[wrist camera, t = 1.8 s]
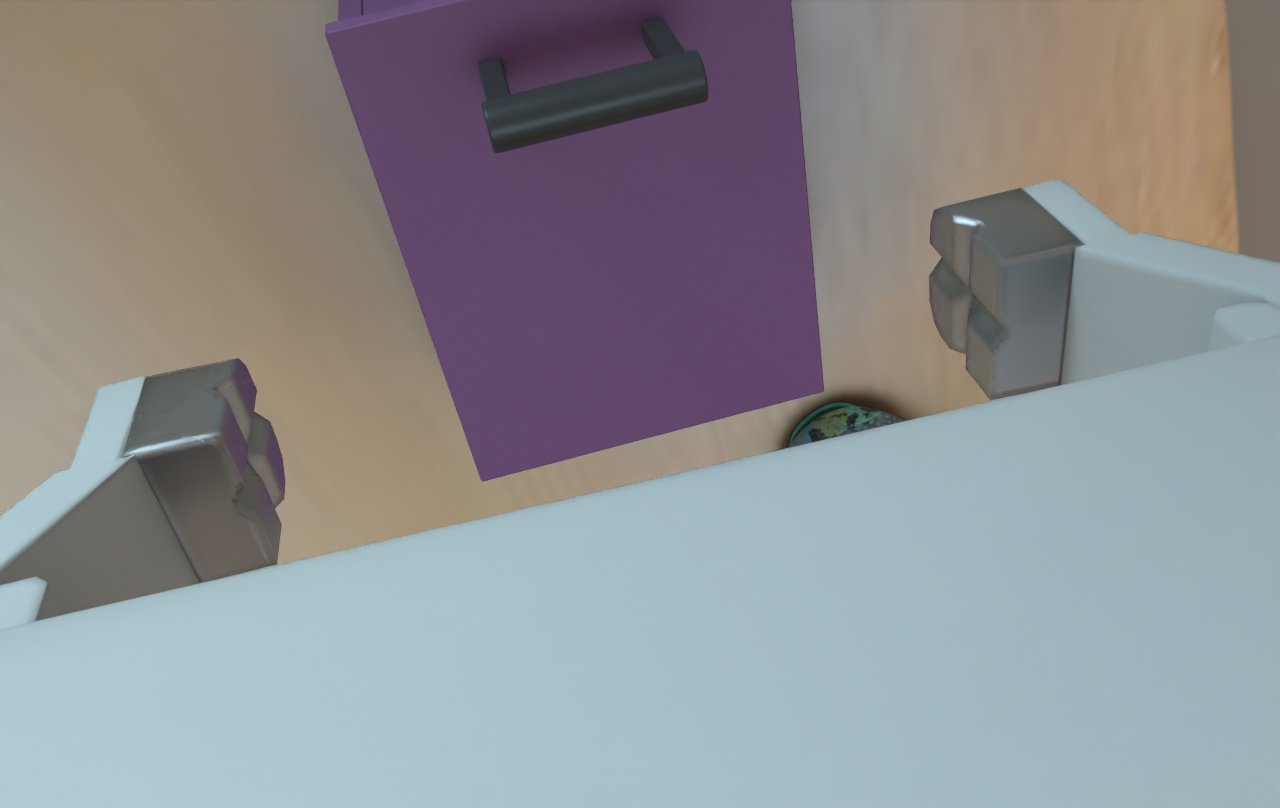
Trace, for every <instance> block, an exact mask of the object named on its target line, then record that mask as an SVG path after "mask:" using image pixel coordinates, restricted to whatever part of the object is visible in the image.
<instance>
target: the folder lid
mask: <svg viewBox="0 0 1280 808" xmlns="http://www.w3.org/2000/svg"><path fill="white" fill-rule="evenodd" d="M325 35H326V38H327V41H328V44H329V46H330V49H331V52H332V55H333V58H334V61H335V64H336V66H337V69H338V72H339V75H340V78H341V81H342V84H343V87H344V89H345V92H346V95H347V98H348V101H349V104H350V107H351V109H352V112H353V115H354V118H355V121H356V124H357V127H358V129H359V132H360V135H361V138H362V141H363V144H364V147H365V149H366V152H367V155H368V158H369V161H370V164H371V167H372V170H373V172H374V175H375V178H376V181H377V184H378V187H379V190H380V192H381V195H382V198H383V201H384V204H385V207H386V210H387V212H388V215H389V218H390V221H391V224H392V227H393V230H394V232H395V235H396V238H397V241H398V244H399V247H400V250H401V253H402V255H403V258H404V261H405V264H406V267H407V270H408V273H409V275H410V278H411V281H412V284H413V287H414V290H415V293H416V295H417V298H418V301H419V304H420V307H421V310H422V313H423V315H424V318H425V321H426V324H427V327H428V330H429V333H430V336H431V338H432V341H433V344H434V347H435V350H436V353H437V356H438V358H439V361H440V364H441V367H442V370H443V373H444V376H445V378H446V381H447V384H448V387H449V390H450V393H451V396H452V398H453V401H454V404H455V407H456V410H457V413H458V416H459V419H460V421H461V424H462V427H463V430H464V433H465V436H466V439H467V441H468V444H469V447H470V450H471V453H472V456H473V459H474V461H475V464H476V467H477V470H478V473H479V476H480V479H481V481H487V480H490V479H494V478H498V477H502V476H506V475H509V474H513V473H517V472H521V471H524V470H528V469H532V468H536V467H540V466H543V465H547V464H551V463H555V462H559V461H562V460H566V459H570V458H574V457H577V456H581V455H585V454H589V453H593V452H596V451H600V450H604V449H608V448H612V447H615V446H619V445H623V444H627V443H630V442H634V441H638V440H642V439H646V438H649V437H653V436H657V435H661V434H665V433H668V432H672V431H676V430H680V429H683V428H687V427H691V426H695V425H699V424H702V423H706V422H710V421H714V420H718V419H721V418H725V417H729V416H733V415H736V414H740V413H744V412H748V411H752V410H755V409H759V408H763V407H767V406H771V405H774V404H778V403H782V402H786V401H790V400H793V399H797V398H801V397H805V396H808V395H812V394H816V393H820V392H823V391H824V384H823V372H822V361H821V349H820V337H819V325H818V313H817V301H816V290H815V278H814V266H813V254H812V242H811V231H810V219H809V207H808V195H807V183H806V171H805V160H804V148H803V136H802V124H801V112H800V101H799V89H798V77H797V65H796V53H795V41H794V30H793V18H792V6H791V0H424V1H420V2H416V3H412V4H408V5H404V6H399V7H395V8H391V9H387V10H383V11H379V12H374V13H370V14H366V15H362V16H358V17H354V18H349V19H345V20H341V21H337V22H333V23H329V24H326V31H325Z"/></svg>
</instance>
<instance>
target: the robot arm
mask: <svg viewBox="0 0 1280 808" xmlns="http://www.w3.org/2000/svg"><path fill="white" fill-rule="evenodd" d="M930 244H931V245H932V246H933V247H934V248H935V250H936V251H937V252H938V253H939V254H940V255H941V257H942V258H941V259H940V261H939V262H938V264H937V265H936V267H935V268H934V270H933V271H932V273H931V274H930V276H929V292H930V305H931V309H932V314H933V318H934V323H935V325H936V327H937V329H938V331H939V334H940V336H941V337H942V339H943V340H944V341H945V343H946V344H947V345H948V347H949V348H950V349H953V350H955V351H958V352H961V353H964V354H966V370H967V371H968V373H969V374H970V375H971V376H972V378H973V379H974V380H975V381H976V383H977V384H978V385H979V386H980V388H981V389H982V390H983V391H984V393H985V394H986V395H987V396H988V398H989V399H990V400H993V399H998V398H1003V397H1007V398H1003V399H999V400H994V401H990V402H986V403H981V404H977V405H973V406H968V407H964V408H960V409H955V410H951V411H947V412H942V413H938V414H934V415H929V416H925V417H921V418H916V419H912V420H908V421H903V422H899V423H895V424H890V425H886V426H882V427H877V428H873V429H869V430H864V431H860V432H856V433H851V434H847V435H843V436H838V437H834V438H830V439H825V440H821V441H817V442H812V443H808V444H804V445H799V446H795V447H791V448H786V449H782V450H777V451H773V452H769V453H764V454H760V455H756V456H751V457H747V458H743V459H738V460H734V461H730V462H725V463H721V464H717V465H712V466H708V467H703V468H699V469H695V470H690V471H686V472H682V473H677V474H673V475H669V476H664V477H660V478H656V479H651V480H647V481H642V482H638V483H634V484H629V485H625V486H621V487H616V488H612V489H608V490H603V491H599V492H595V493H590V494H586V495H582V496H577V497H573V498H568V499H564V500H560V501H555V502H551V503H547V504H542V505H538V506H534V507H529V508H525V509H521V510H516V511H512V512H507V513H503V514H499V515H494V516H490V517H486V518H481V519H477V520H473V521H468V522H464V523H460V524H455V525H451V526H446V527H442V528H438V529H433V530H429V531H425V532H420V533H416V534H412V535H407V536H403V537H399V538H394V539H390V540H386V541H381V542H377V543H372V544H368V545H364V546H359V547H355V548H351V549H346V550H342V551H338V552H333V553H329V554H325V555H320V556H316V557H311V558H307V559H303V560H298V561H294V562H290V563H285V564H281V565H277V566H272V567H268V568H264V569H260V568H263V567H267V566H271V565H275V564H277V561H278V552H279V543H280V533H281V522H280V520H279V517H278V515H277V513H276V510H275V508H276V507H277V506H278V505H279V504H280V503H281V502H282V500H283V499H284V494H285V475H284V467H283V459H282V455H281V452H280V448H279V445H278V441H277V438H276V436H275V433H274V431H273V428H272V426H271V423H270V421H268V420H267V419H265V418H264V417H262V416H260V415H259V414H257V413H256V412H254V407H255V399H256V392H257V389H256V387H255V385H254V383H253V380H252V378H251V376H250V374H249V371H248V369H247V367H246V365H245V364H244V363H243V362H242V361H241V360H240V359H239V358H237V359H232V360H227V361H222V362H217V363H212V364H207V365H202V366H197V367H192V368H187V369H181V370H176V371H171V372H166V373H161V374H156V375H152V376H150V377H149V376H142V377H138V378H134V379H130V380H126V381H122V382H117V383H113V384H109V385H106V386H104V387H101V388H100V389H99V390H98V393H97V395H96V398H95V401H94V404H93V406H92V409H91V412H90V415H89V417H88V420H87V423H86V426H85V428H84V431H83V434H82V437H81V439H80V442H79V445H78V448H77V451H76V453H75V456H74V459H73V462H72V464H71V467H70V469H68V470H64V471H59V472H56V473H55V474H53V475H52V476H51V477H50V478H48V479H47V480H46V481H44V482H43V483H42V484H41V485H39V486H38V487H37V488H36V489H34V490H33V491H32V492H31V493H29V494H28V495H27V496H26V497H24V498H23V499H22V500H21V501H19V502H18V503H17V504H16V505H14V506H13V507H12V508H10V509H9V510H8V511H7V512H5V513H4V514H3V515H2V516H0V808H1280V263H1277V262H1273V261H1269V260H1264V259H1259V258H1255V257H1251V256H1246V255H1242V254H1237V253H1233V252H1229V251H1224V250H1220V249H1215V248H1211V247H1206V246H1202V245H1197V244H1193V243H1188V242H1184V241H1179V240H1175V239H1171V238H1166V237H1162V236H1157V235H1153V234H1148V233H1144V232H1143V233H1138V234H1133V235H1130V234H1129V233H1128V232H1126V231H1125V230H1124V229H1123V228H1121V227H1120V226H1119V225H1118V224H1117V223H1115V222H1114V221H1113V220H1112V219H1110V218H1109V217H1108V216H1107V215H1106V214H1104V213H1103V212H1102V211H1101V210H1099V209H1098V208H1097V207H1096V206H1094V205H1093V204H1092V203H1091V202H1090V201H1088V200H1087V199H1086V198H1085V197H1083V196H1082V195H1081V194H1080V193H1079V192H1077V191H1076V190H1075V189H1074V188H1072V187H1071V186H1070V185H1069V184H1067V183H1066V182H1065V181H1061V180H1051V181H1047V182H1043V183H1039V184H1036V185H1032V186H1028V187H1024V188H1018V189H1014V190H1010V191H1006V192H1002V193H998V194H993V195H989V196H985V197H981V198H977V199H973V200H969V201H964V202H960V203H956V204H952V205H948V206H944V207H941V208H938V209H936V210H934V212H933V216H932V220H931V225H930ZM1037 390H1038V391H1037ZM1032 391H1034V392H1032ZM1027 392H1029V393H1027ZM1023 393H1025V394H1023ZM1018 394H1021V395H1018ZM1013 395H1016V396H1013ZM1008 396H1012V397H1008ZM256 569H259V570H256ZM252 570H255V571H252ZM248 571H251V572H248ZM244 572H246V573H244ZM240 573H242V574H240ZM236 574H238V575H236ZM232 575H233V576H232ZM228 576H229V577H228Z"/></svg>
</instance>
